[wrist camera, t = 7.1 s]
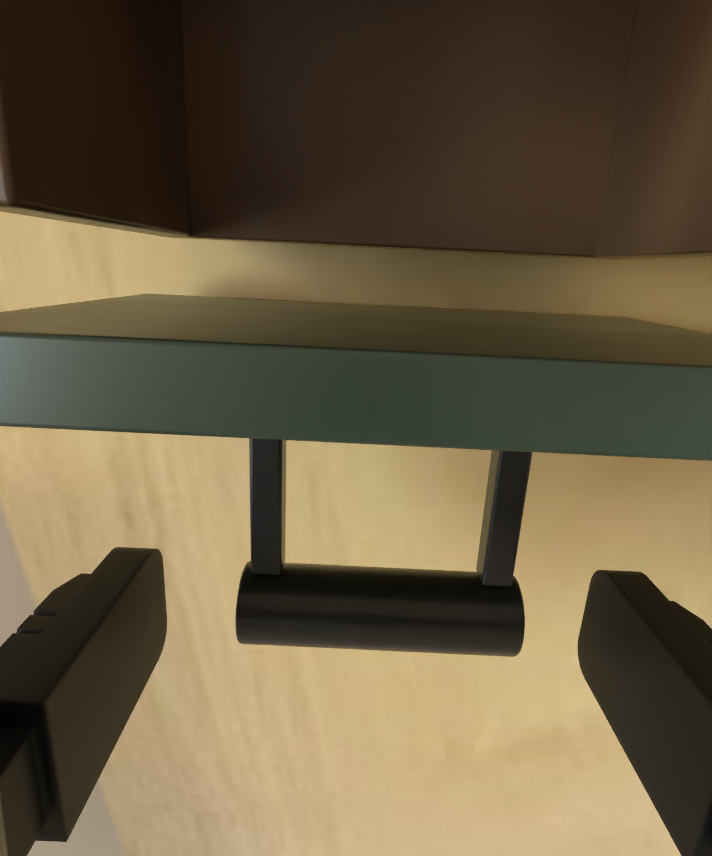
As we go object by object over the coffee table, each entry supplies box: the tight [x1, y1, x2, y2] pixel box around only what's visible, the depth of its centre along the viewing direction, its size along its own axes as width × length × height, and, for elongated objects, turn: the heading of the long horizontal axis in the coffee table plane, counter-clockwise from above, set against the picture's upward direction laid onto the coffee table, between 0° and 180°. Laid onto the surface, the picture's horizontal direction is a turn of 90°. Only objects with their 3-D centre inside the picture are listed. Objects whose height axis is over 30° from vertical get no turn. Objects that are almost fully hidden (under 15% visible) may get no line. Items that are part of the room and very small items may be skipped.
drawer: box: [0, 0, 712, 657], centre depth 9 cm, size 20×13×8 cm, turn 177°
